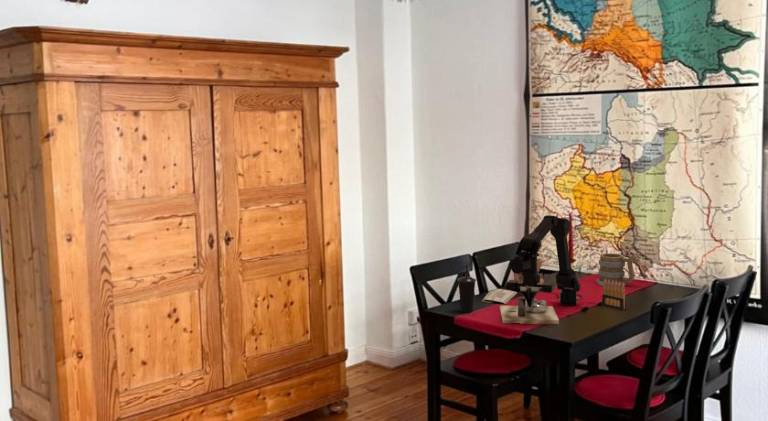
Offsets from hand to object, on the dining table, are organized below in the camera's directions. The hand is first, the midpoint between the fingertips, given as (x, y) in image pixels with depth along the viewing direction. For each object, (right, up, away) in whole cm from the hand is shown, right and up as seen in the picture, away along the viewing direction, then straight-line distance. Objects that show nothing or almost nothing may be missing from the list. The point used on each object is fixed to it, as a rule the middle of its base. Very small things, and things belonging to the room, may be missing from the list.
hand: (530, 307), depth 318 cm
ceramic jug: (+9, +2, +55) cm, 55 cm away
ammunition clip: (+39, -3, +19) cm, 43 cm away
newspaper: (-7, -1, +39) cm, 40 cm away
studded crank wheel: (+1, -3, +7) cm, 8 cm away
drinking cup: (-24, -4, +17) cm, 29 cm away
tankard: (+53, +3, +60) cm, 80 cm away
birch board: (+1, -5, +8) cm, 9 cm away
